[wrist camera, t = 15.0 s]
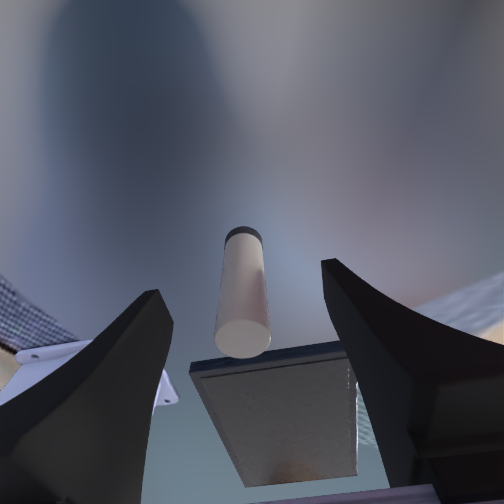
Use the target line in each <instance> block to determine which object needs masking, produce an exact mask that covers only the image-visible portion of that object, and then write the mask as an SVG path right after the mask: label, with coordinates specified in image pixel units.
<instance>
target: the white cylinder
mask: <svg viewBox="0 0 504 504" xmlns="http://www.w3.org/2000/svg"><path fill="white" fill-rule="evenodd" d="M262 251H263V246H262V239H261V236H260V235H259V233H258V232H257V231H256V230H254V229H252V228H250V227H245V226H242V227H238V228H235V229H233V230H231V231H230V232H229V234H228V235H227V237H226V240H225V253H224V261H223V268H222V276H221V284H220V293H219V300H218V308H217V316H216V324H215V332H214V342H215V345H216V347H217V348H218V349H219V350H220V351H221V352H222V353H224V354H225V355H227V356H230V357H233V358H251V357H255V356H257V355H259V354H261V353H263V352H264V351H265V350H266V349H267V348H268V346H269V344H270V342H271V332H270V321H269V311H268V301H267V292H266V282H265V272H264V262H263V252H262Z"/></svg>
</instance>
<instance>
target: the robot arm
mask: <svg viewBox="0 0 504 504" xmlns="http://www.w3.org/2000/svg"><path fill="white" fill-rule="evenodd" d="M321 267H322V280H323V292H324V299H325V303H326V306H327V309H328V312H329V316H330V319H331V321H332V323H333V326H334V328H335V330H336V332H337V335H338V337H339V339H340V341H341V343H342V346H343V348H344V350H345V352H346V355H347V357H348V359H349V361H350V363H351V366H352V369H353V371H354V374H355V376H356V379H357V382H358V385H359V388H360V391H361V394H362V397H363V400H364V404H365V407H366V410H367V413H368V416H369V419H370V422H371V425H372V429H373V432H374V435H375V438H376V441H377V445H378V448H379V451H380V454H381V458H382V461H383V465H384V468H385V471H386V475H387V478H388V481H389V485H390V488H387V489H379V490H370V491H360V492H351V493H342V494H333V495H323V496H314V497H305V498H296V499H287V500H278V501H269V502H259V503H251V504H504V345H502V344H498V343H495V342H492V341H489V340H485V339H482V338H479V337H476V336H473V335H470V334H468V333H465V332H462V331H459V330H457V329H454V328H451V327H449V326H446V325H444V324H441V323H439V322H437V321H435V320H432V319H430V318H428V317H426V316H423V315H421V314H419V313H417V312H415V311H413V310H411V309H409V308H407V307H405V306H403V305H401V304H400V303H398V302H396V301H394V300H392V299H391V298H389V297H387V296H386V295H384V294H383V293H381V292H380V291H378V290H377V289H375V288H373V287H372V286H371V285H369V284H368V283H367V282H365V281H364V280H362V279H361V278H360V277H358V276H357V275H356V274H355V273H353V272H352V271H351V270H349V269H348V268H347V267H346V266H345V265H344V264H342V263H341V262H340V261H339V260H337V259H336V258H333V259H327V260H322V261H321ZM173 324H174V322H173V320H172V317H171V315H170V313H169V311H168V309H167V307H166V305H165V302H164V300H163V298H162V296H161V294H160V292H159V290H158V289H156V290H149V291H145V292H144V293H143V294H141V295H140V296H139V297H138V298H137V299H136V300H135V301H134V302H133V303H132V304H131V305H130V306H129V307H128V308H127V309H126V310H125V311H124V312H123V313H122V314H121V315H120V316H119V317H117V318H116V320H115V321H113V322H112V323H111V324H110V325H109V326H108V327H107V328H106V329H105V330H104V331H103V332H102V333H101V334H99V335H98V336H97V337H96V338H95V339H90V340H84V341H77V342H71V343H65V344H59V345H52V346H46V347H40V348H33V349H27V350H21V351H19V352H18V353H17V354H16V355H15V360H16V361H17V362H18V363H19V364H20V365H21V366H20V367H19V369H18V370H17V371H16V372H15V374H14V375H13V376H12V377H11V379H10V380H9V381H8V382H7V384H6V385H5V386H4V387H3V389H2V390H1V391H0V504H140V503H141V491H142V481H143V473H144V465H145V457H146V449H147V443H148V436H149V430H150V424H151V420H152V416H153V412H154V409H155V406H160V405H169V404H175V403H177V402H178V401H179V398H180V396H179V394H178V392H177V391H176V389H175V387H174V385H173V384H172V382H171V380H170V378H169V376H168V374H167V373H166V371H165V369H164V366H165V362H166V359H167V355H168V352H169V348H170V344H171V339H172V332H173Z"/></svg>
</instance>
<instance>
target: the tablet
mask: <svg viewBox="0 0 504 504" xmlns="http://www.w3.org/2000/svg"><path fill="white" fill-rule="evenodd" d="M189 375H190V377H191V379H192V381H193V383H194V385H195V387H196V389H197V391H198V393H199V395H200V397H201V399H202V401H203V403H204V405H205V407H206V409H207V411H208V413H209V415H210V417H211V419H212V421H213V423H214V425H215V427H216V429H217V431H218V433H219V435H220V437H221V440H222V441H223V444H224V446H225V447H226V450H227V452H228V454H229V456H230V458H231V460H232V461H233V464H234V465H235V468H236V470H237V472H238V474H239V476H240V478H241V480H242V482H243V484H244V486H245V487H246V488H247V487H256V486H265V485H275V484H284V483H293V482H303V481H312V480H320V479H321V480H322V479H331V478H339V477H349V476H357V379H356V376H355V374H354V371H353V369H352V366H351V363H350V361H349V359H348V357H347V355H346V352H345V350H344V348H343V346H342V343H341V341H333V342H326V343H319V344H312V345H305V346H298V347H292V348H285V349H278V350H271V351H264V352H263V353H261V354H259V355H257V356H255V357H251V358H233V357H224V358H217V359H210V360H203V361H197V362H191V365H190V370H189Z"/></svg>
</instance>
